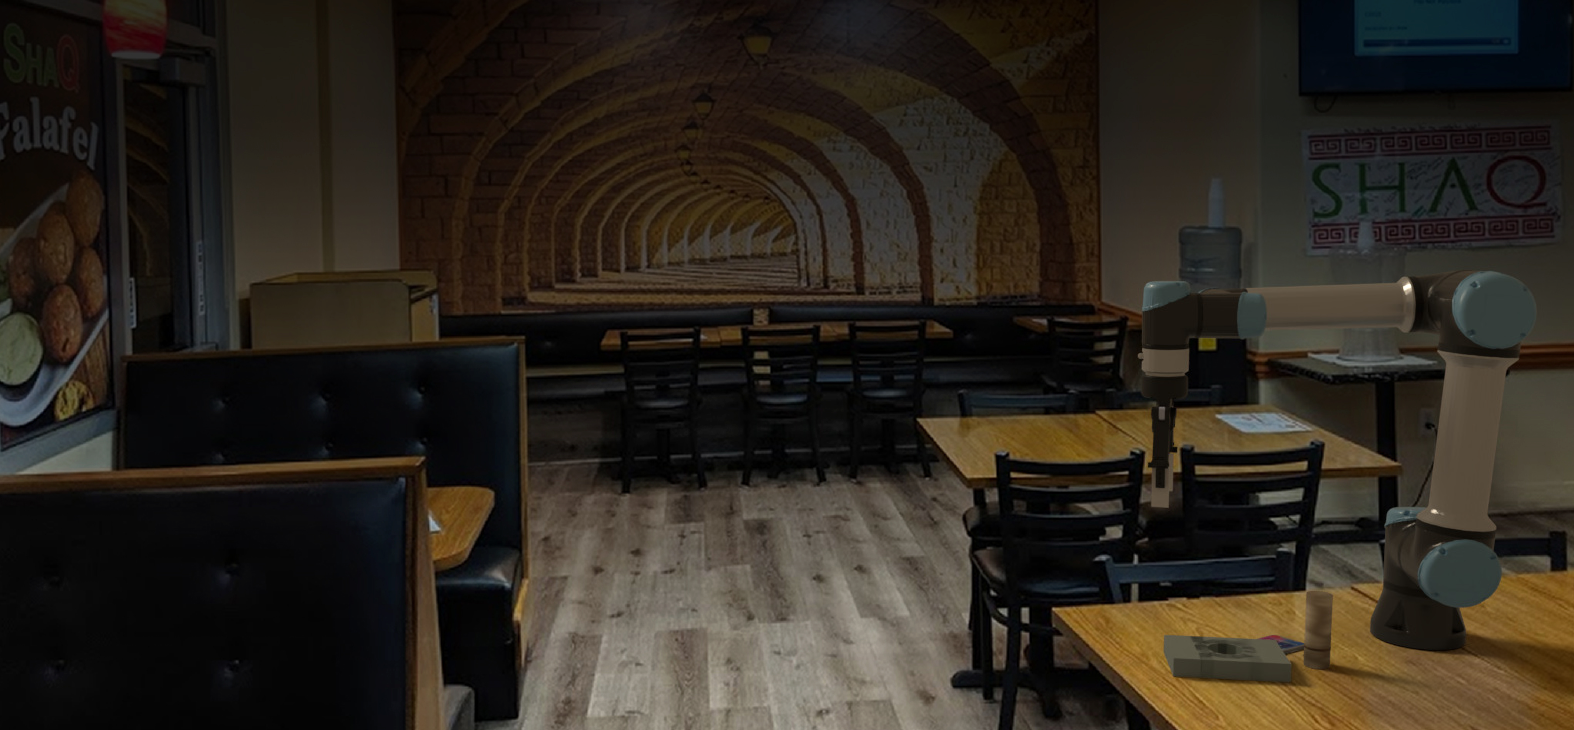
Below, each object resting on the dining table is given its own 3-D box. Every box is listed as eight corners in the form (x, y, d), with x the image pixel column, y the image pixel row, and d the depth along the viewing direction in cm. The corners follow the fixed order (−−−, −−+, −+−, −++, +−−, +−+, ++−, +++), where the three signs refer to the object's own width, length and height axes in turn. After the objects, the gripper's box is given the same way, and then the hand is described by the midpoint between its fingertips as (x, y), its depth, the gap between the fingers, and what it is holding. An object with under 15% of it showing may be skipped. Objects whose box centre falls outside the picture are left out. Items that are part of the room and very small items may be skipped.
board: (1274, 657, 213) (1275, 639, 213) (1290, 682, 202) (1291, 663, 201) (1163, 651, 216) (1164, 634, 216) (1173, 676, 204) (1173, 658, 204)
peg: (1326, 661, 211) (1329, 591, 210) (1332, 670, 207) (1336, 598, 206) (1300, 660, 212) (1303, 590, 210) (1306, 668, 208) (1309, 597, 206)
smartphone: (1216, 648, 217) (1273, 633, 224) (1216, 653, 217) (1273, 638, 225) (1253, 659, 210) (1310, 644, 218) (1252, 665, 210) (1310, 649, 218)
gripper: (1146, 365, 225) (1144, 483, 228) (1135, 381, 202) (1133, 512, 204) (1190, 366, 223) (1188, 485, 225) (1185, 382, 200) (1182, 515, 202)
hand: (1162, 498), depth 215 cm, fingers open, 13 cm apart
